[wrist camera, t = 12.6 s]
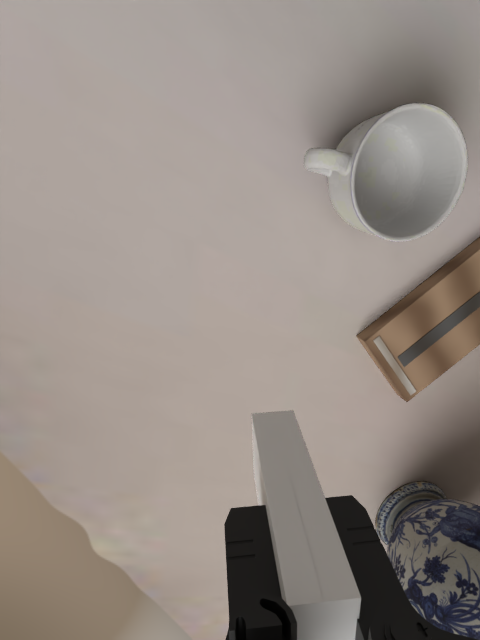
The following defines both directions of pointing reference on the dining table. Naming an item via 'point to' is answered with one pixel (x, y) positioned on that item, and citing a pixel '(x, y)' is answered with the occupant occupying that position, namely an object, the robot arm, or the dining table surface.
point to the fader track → (429, 326)
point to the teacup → (396, 171)
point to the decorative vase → (435, 554)
